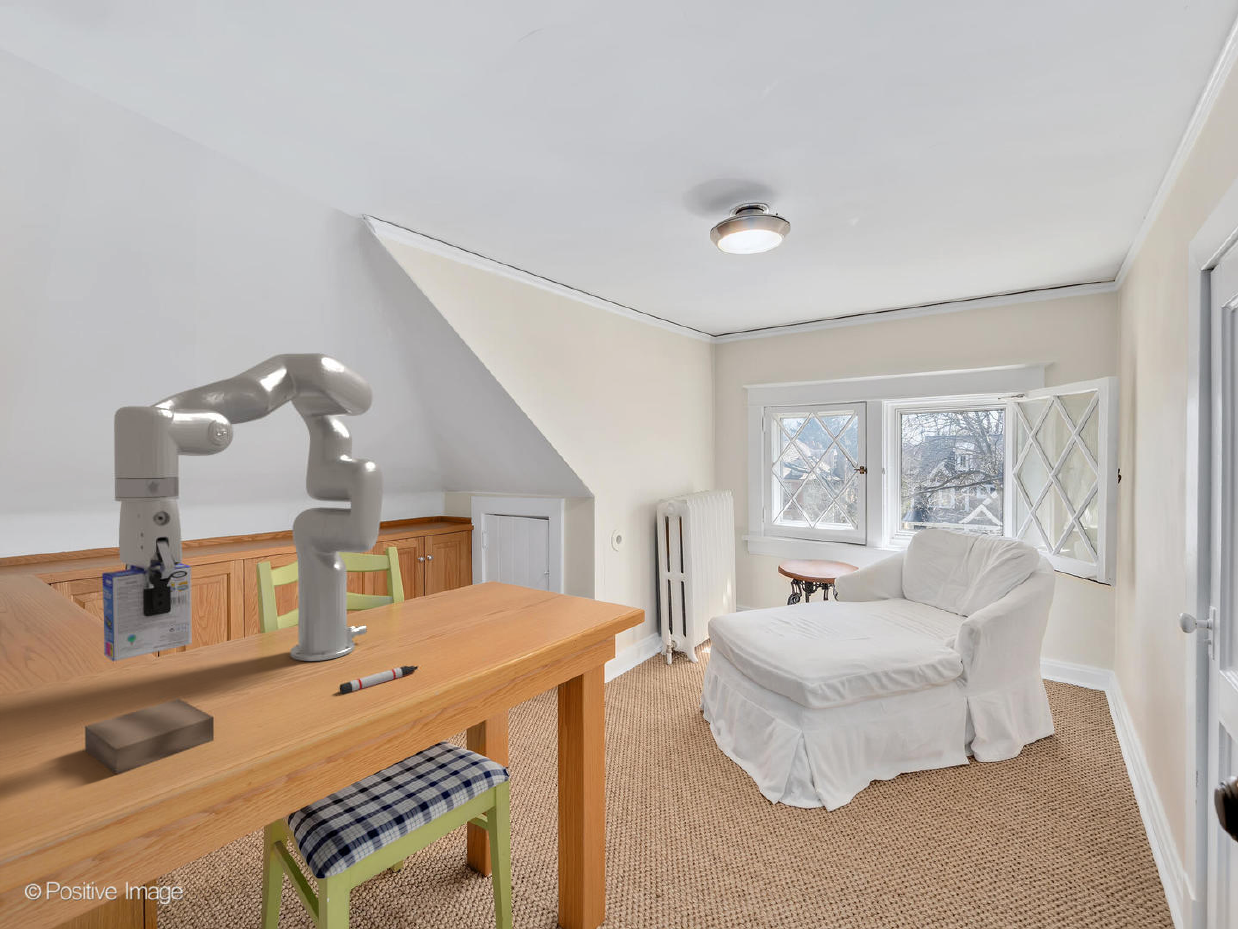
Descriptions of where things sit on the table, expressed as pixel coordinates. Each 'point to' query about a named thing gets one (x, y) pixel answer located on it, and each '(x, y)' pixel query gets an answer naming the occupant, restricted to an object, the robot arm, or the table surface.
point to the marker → (376, 679)
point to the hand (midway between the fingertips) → (148, 610)
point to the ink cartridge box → (126, 618)
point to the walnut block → (148, 735)
